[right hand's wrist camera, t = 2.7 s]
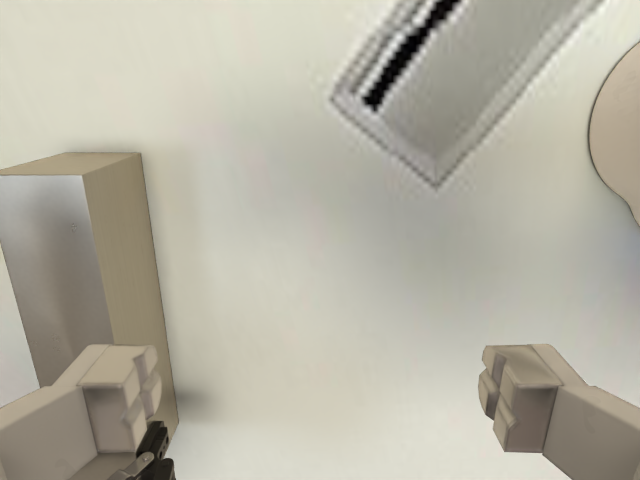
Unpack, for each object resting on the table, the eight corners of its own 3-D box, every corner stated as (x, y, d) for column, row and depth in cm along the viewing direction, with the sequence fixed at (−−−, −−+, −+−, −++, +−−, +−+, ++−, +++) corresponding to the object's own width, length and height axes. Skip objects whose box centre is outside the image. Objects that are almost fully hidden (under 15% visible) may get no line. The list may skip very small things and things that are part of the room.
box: (64, 152, 35) (-19, 174, 26) (140, 152, 35) (81, 174, 26) (119, 422, 44) (71, 502, 36) (178, 422, 44) (145, 502, 36)
